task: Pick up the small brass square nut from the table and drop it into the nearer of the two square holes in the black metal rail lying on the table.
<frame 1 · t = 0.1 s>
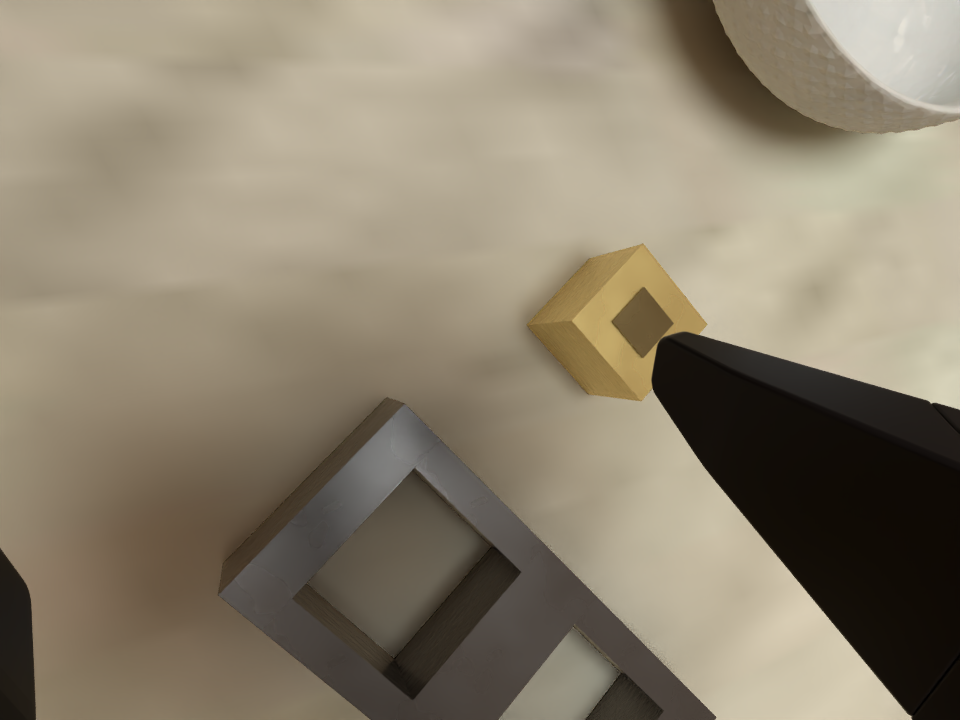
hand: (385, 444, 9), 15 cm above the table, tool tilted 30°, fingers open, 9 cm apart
rail: (474, 629, 25), on the table
nut: (587, 326, 27), on the table
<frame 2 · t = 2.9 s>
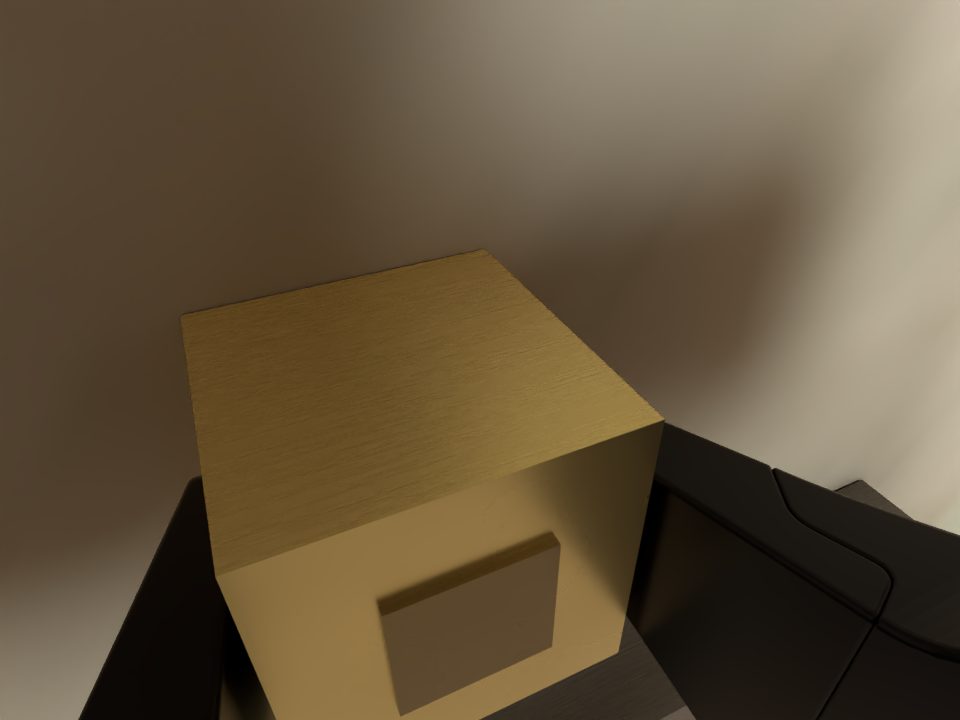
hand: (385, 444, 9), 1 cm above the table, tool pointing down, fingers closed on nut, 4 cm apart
rail: (588, 679, 18), on the table
nut: (363, 399, 9), on the table, touching gripper
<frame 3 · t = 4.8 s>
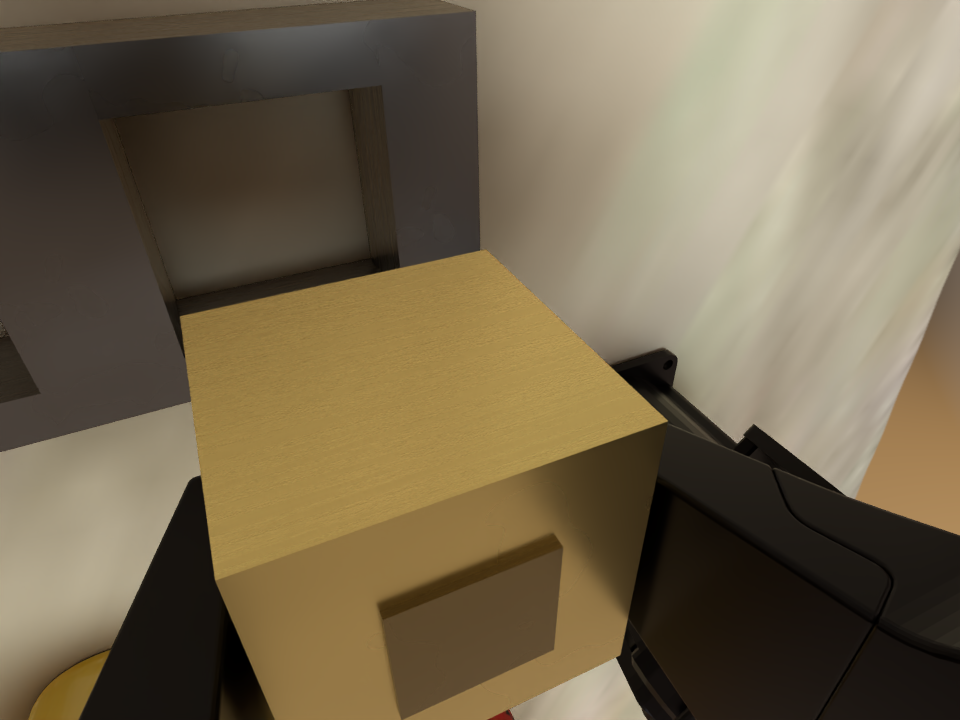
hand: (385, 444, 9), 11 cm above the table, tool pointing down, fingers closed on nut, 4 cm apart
rail: (86, 213, 15), on the table
plant pot: (129, 690, 25), on the table
nut: (364, 400, 9), point 10 cm above the table, touching gripper
when the fingers open (3 cm above the table, at t = 6.8 s): nut drops 3 cm, resting in rail.
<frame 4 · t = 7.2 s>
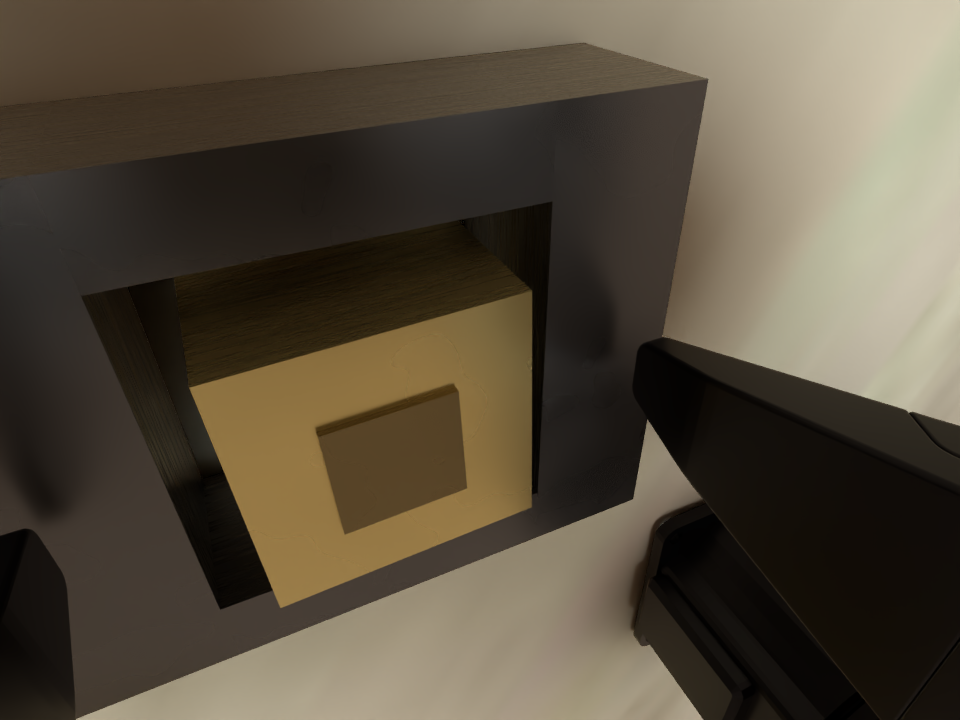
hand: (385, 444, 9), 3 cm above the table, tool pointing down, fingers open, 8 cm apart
rail: (69, 380, 10), on the table
nut: (325, 315, 11), resting in rail
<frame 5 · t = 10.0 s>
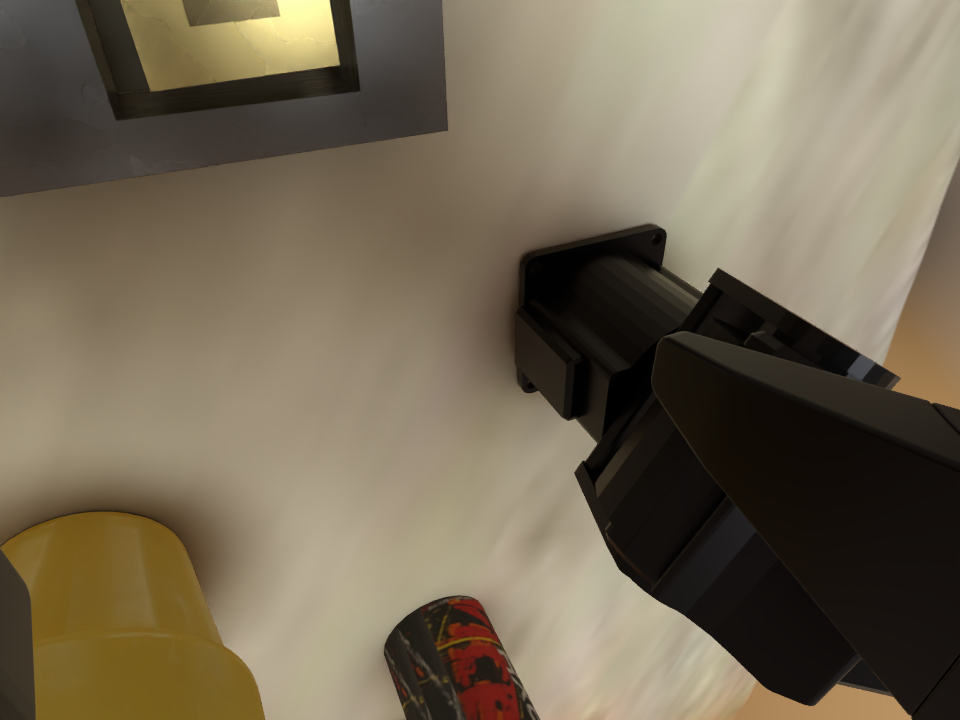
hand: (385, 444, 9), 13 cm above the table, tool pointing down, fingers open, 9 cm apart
plant pot: (87, 570, 24), on the table
deodorant: (434, 630, 36), on the table
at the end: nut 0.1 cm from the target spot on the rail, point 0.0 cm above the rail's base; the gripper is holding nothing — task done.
